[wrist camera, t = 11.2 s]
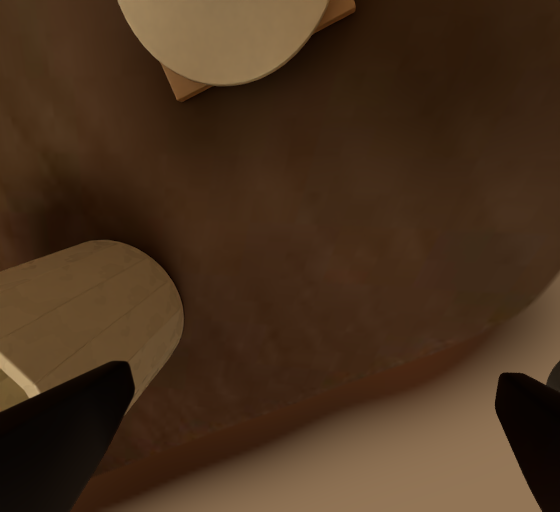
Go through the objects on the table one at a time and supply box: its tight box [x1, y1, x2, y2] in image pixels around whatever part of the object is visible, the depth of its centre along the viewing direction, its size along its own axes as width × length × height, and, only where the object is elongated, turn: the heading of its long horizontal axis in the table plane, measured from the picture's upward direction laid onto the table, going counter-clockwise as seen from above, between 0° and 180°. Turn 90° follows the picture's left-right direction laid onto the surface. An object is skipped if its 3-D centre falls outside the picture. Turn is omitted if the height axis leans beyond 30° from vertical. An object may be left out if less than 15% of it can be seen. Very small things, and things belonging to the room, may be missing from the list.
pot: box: [0, 240, 184, 414], centre depth 17 cm, size 10×10×10 cm
